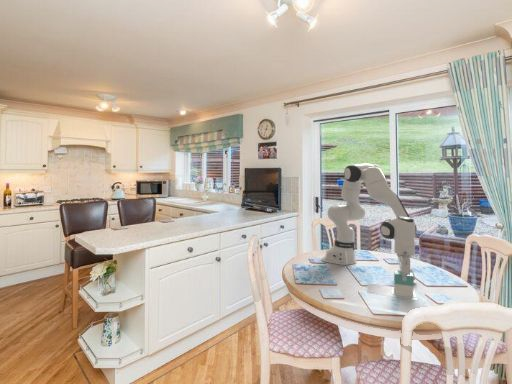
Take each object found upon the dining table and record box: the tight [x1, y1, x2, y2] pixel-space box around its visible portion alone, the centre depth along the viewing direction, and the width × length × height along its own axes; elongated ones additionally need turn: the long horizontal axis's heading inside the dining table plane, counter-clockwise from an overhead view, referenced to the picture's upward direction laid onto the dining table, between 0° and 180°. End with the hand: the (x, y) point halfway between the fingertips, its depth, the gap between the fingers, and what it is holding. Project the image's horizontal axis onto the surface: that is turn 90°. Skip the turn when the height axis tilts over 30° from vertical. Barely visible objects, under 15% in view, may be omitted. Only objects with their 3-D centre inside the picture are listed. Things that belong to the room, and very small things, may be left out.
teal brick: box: [393, 270, 415, 287], centre depth 135 cm, size 8×5×5 cm, turn 66°
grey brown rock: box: [397, 268, 416, 281], centre depth 150 cm, size 8×9×10 cm
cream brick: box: [393, 281, 414, 296], centre depth 135 cm, size 8×5×5 cm, turn 66°
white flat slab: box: [366, 282, 418, 301], centre depth 138 cm, size 22×13×1 cm, turn 66°
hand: (403, 276), depth 135 cm, fingers open, 8 cm apart
